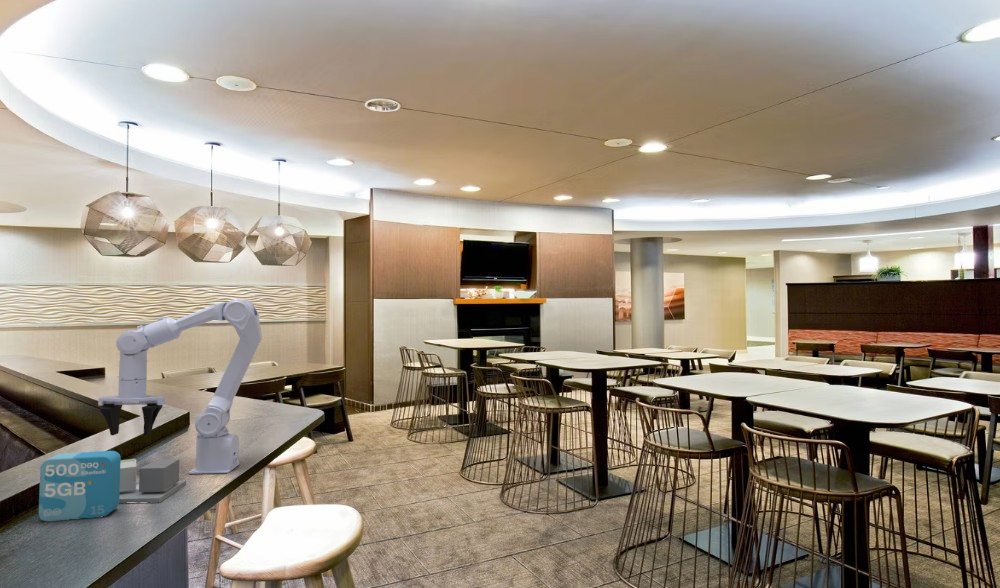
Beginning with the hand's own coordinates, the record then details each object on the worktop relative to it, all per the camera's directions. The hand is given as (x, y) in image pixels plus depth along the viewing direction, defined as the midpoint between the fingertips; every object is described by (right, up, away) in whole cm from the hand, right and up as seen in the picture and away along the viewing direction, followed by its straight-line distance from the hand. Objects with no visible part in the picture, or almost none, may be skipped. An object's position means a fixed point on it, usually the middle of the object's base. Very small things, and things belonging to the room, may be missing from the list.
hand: (131, 434), depth 134 cm
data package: (+8, -10, -27) cm, 29 cm away
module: (+8, -8, -14) cm, 18 cm away
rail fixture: (+9, -10, -14) cm, 19 cm away
